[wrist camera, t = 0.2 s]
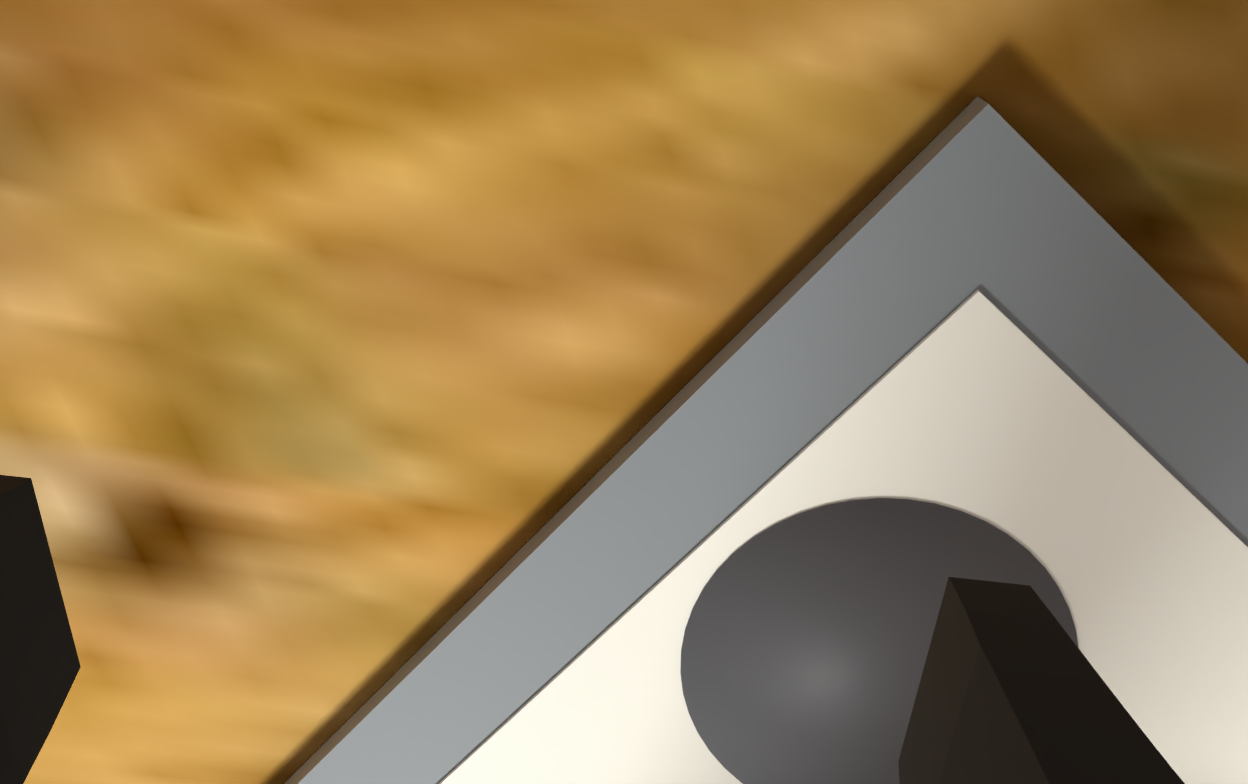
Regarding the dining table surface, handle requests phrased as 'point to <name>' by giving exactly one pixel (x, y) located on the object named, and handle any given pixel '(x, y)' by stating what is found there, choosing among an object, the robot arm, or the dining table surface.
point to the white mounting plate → (869, 515)
